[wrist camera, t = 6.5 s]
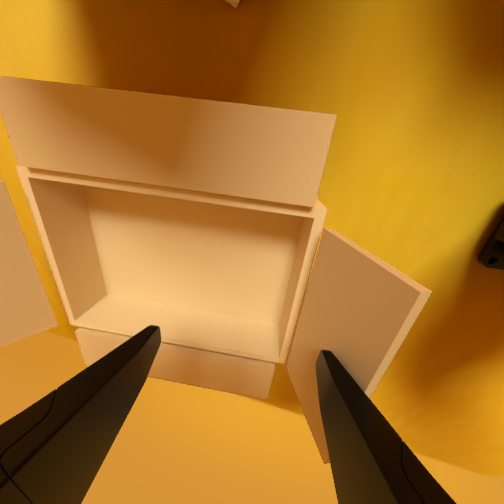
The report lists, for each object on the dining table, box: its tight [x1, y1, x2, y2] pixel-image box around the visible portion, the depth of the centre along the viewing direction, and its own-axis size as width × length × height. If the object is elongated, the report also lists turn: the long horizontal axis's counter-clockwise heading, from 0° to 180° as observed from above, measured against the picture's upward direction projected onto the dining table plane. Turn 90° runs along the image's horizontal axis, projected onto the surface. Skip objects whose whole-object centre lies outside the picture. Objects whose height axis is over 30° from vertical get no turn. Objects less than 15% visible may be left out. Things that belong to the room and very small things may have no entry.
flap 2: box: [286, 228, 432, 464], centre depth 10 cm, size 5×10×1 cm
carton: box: [0, 76, 337, 400], centre depth 14 cm, size 16×18×4 cm
